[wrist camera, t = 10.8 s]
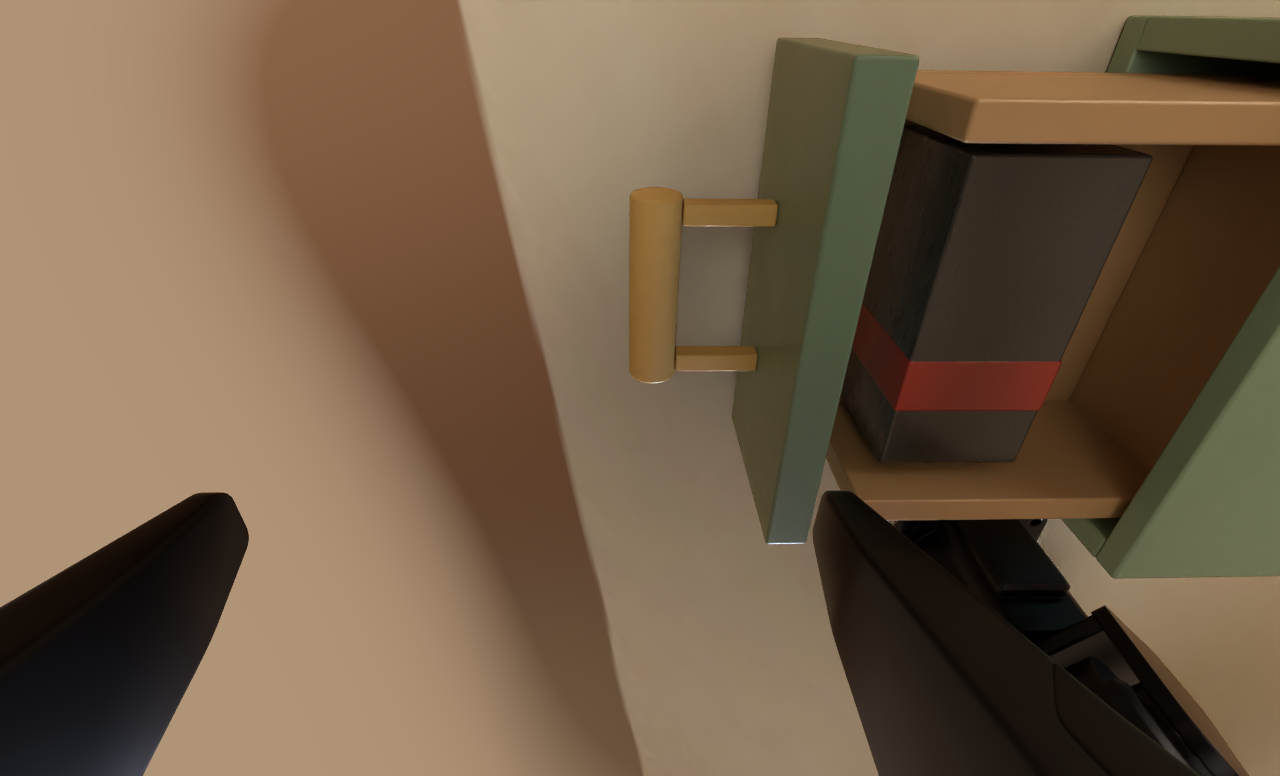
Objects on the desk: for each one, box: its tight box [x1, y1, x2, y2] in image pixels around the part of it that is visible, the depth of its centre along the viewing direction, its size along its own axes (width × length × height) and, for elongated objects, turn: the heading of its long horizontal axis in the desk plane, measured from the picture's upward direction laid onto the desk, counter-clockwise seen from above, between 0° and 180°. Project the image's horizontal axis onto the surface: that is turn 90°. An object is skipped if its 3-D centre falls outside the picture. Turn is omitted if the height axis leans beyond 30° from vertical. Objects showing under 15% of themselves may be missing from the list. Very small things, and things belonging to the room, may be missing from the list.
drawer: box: [629, 38, 1280, 544], centre depth 17 cm, size 16×12×6 cm
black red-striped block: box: [841, 124, 1153, 463], centre depth 17 cm, size 4×8×4 cm, turn 179°
